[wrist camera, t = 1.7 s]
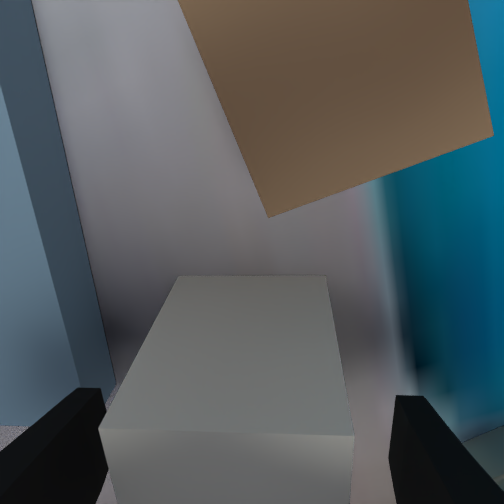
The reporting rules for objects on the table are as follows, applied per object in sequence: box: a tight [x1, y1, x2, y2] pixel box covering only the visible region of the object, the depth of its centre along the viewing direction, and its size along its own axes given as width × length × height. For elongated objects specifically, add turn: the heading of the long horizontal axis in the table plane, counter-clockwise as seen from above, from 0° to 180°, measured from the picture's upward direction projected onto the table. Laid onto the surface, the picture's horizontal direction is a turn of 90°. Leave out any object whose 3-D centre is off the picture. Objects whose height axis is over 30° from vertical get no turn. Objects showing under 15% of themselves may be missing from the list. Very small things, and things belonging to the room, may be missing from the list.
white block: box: [98, 275, 355, 504], centre depth 11 cm, size 4×4×6 cm
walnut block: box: [178, 0, 494, 218], centre depth 8 cm, size 4×4×4 cm
